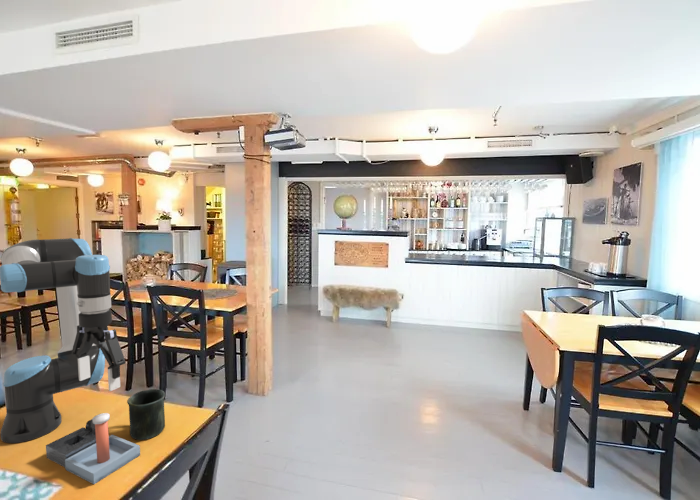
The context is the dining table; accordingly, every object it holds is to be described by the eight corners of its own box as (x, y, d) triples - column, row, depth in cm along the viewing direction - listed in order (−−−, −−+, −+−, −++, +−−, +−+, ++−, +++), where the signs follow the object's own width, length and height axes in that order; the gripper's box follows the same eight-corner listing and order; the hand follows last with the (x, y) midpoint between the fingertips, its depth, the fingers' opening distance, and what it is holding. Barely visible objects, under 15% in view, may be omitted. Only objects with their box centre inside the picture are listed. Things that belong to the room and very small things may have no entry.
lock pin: (92, 461, 103) (89, 418, 102) (106, 453, 107) (103, 411, 106) (100, 466, 101) (98, 422, 100) (114, 457, 105) (112, 415, 104)
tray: (65, 469, 101) (64, 459, 101) (112, 443, 113) (111, 434, 112) (94, 484, 96) (93, 473, 95) (140, 455, 107) (139, 445, 107)
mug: (136, 446, 111) (135, 409, 110) (119, 428, 121) (117, 394, 120) (172, 430, 120) (171, 396, 119) (153, 415, 129) (152, 382, 128)
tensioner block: (46, 458, 106) (44, 434, 105) (88, 436, 116) (87, 414, 116) (66, 468, 102) (64, 443, 101) (108, 444, 112) (107, 421, 111)
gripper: (54, 308, 102) (58, 380, 104) (109, 320, 92) (114, 399, 94) (82, 302, 109) (86, 370, 111) (137, 312, 98) (141, 387, 100)
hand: (99, 383), depth 102 cm, fingers open, 13 cm apart
